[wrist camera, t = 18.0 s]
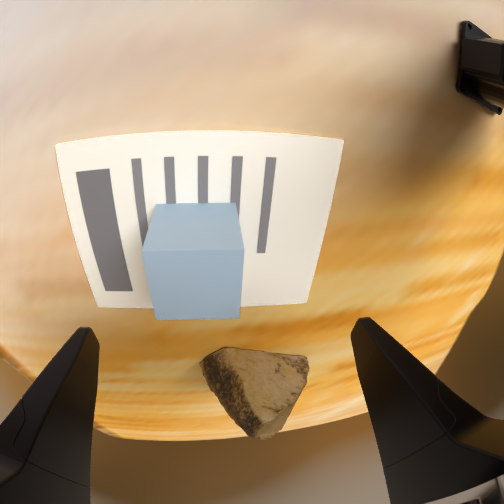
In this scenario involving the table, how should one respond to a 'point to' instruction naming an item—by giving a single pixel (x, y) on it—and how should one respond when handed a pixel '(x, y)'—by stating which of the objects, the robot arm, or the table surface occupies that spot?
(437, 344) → the table surface
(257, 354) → the rock
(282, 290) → the letter
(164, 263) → the cube
